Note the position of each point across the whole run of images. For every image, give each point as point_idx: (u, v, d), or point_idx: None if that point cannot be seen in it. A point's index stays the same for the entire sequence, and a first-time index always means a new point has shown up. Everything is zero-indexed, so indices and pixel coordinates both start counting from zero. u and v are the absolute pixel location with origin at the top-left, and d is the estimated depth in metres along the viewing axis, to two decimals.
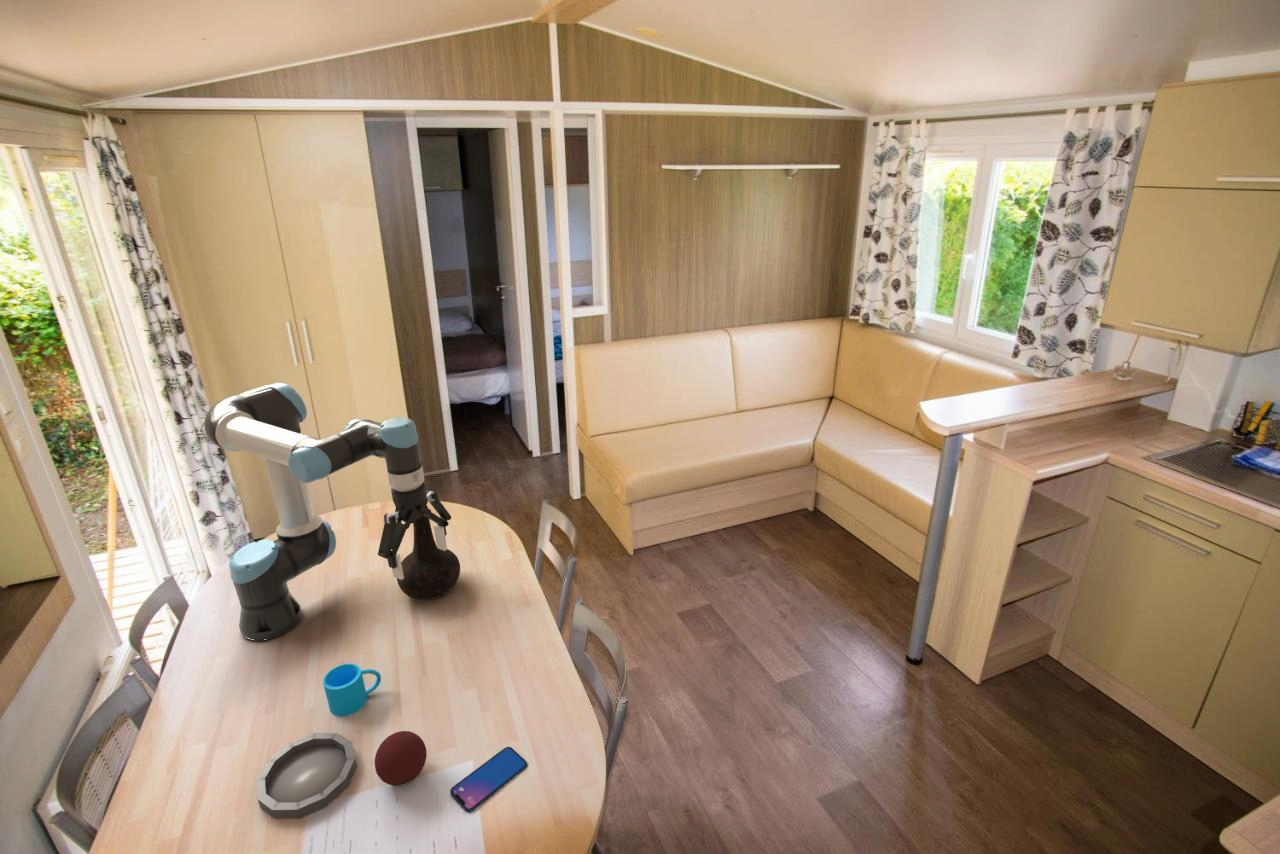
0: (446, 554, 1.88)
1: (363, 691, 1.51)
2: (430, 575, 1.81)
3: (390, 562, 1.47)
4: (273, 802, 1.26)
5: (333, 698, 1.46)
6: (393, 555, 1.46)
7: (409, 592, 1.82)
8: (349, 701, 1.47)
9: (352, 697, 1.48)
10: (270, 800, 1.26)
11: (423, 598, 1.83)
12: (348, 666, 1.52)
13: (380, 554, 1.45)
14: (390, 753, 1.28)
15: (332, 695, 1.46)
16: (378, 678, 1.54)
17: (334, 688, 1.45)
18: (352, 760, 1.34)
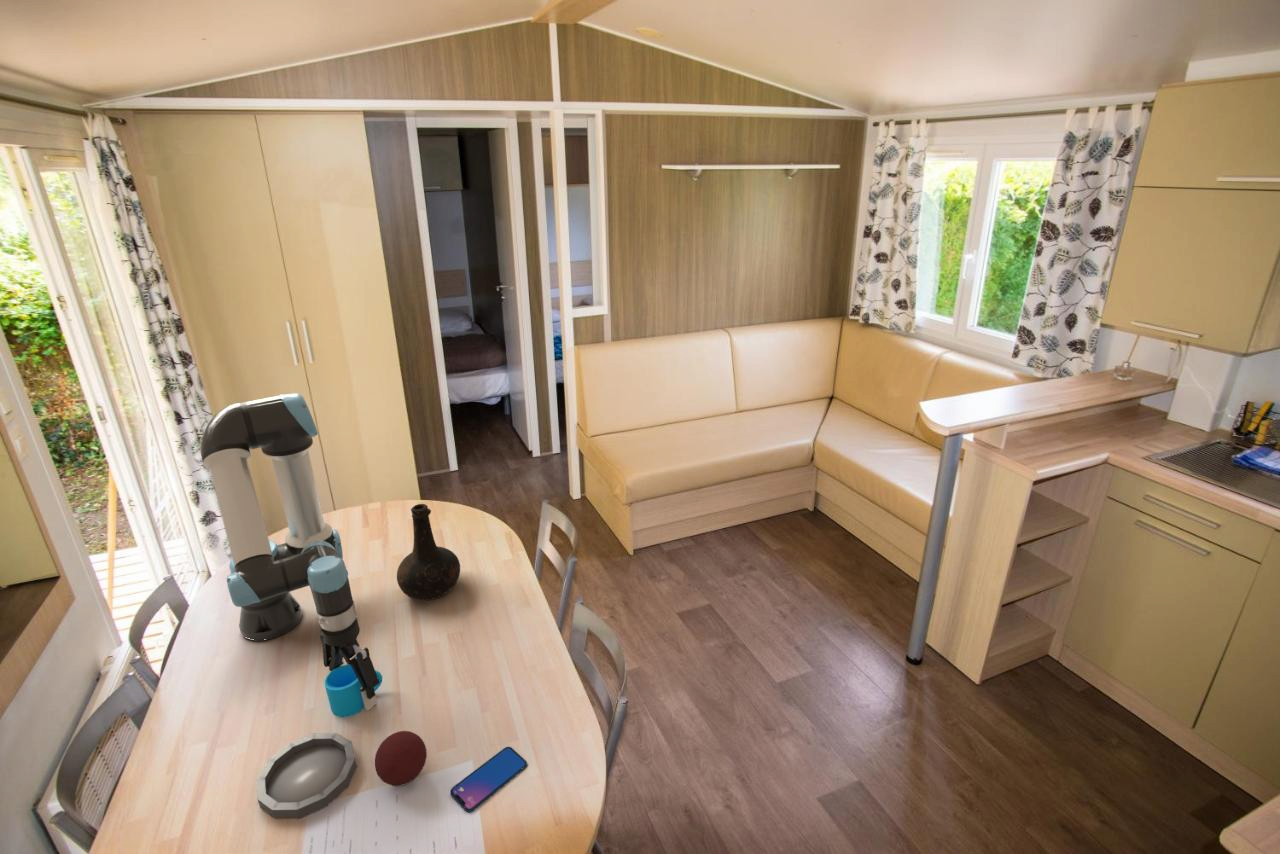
0: (446, 554, 1.88)
1: None
2: (430, 576, 1.81)
3: None
4: (273, 802, 1.26)
5: (335, 699, 1.46)
6: (330, 670, 1.52)
7: (409, 592, 1.82)
8: (351, 702, 1.47)
9: (354, 698, 1.47)
10: (270, 800, 1.26)
11: (423, 598, 1.83)
12: (349, 667, 1.52)
13: None
14: (390, 753, 1.28)
15: (334, 696, 1.46)
16: (379, 678, 1.53)
17: (336, 689, 1.45)
18: (352, 760, 1.34)
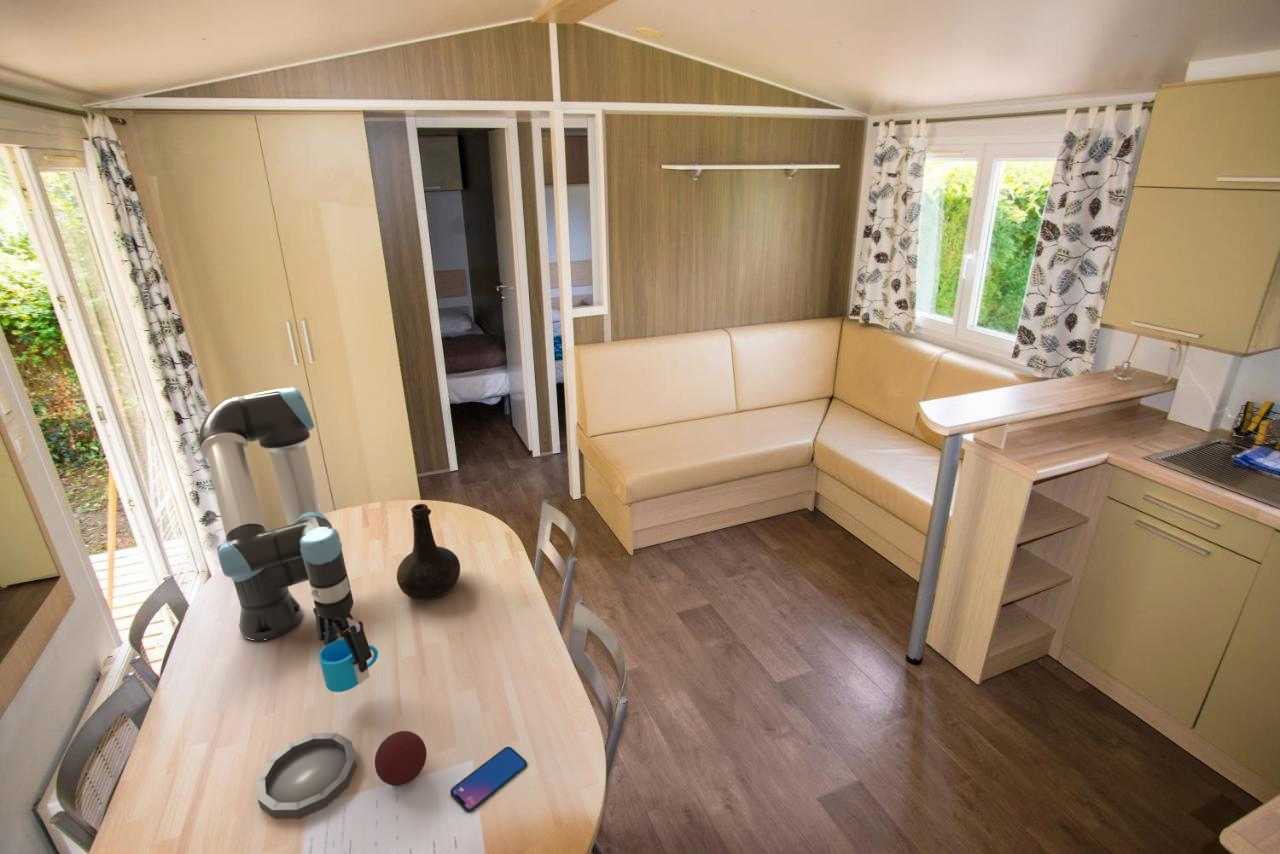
0: (446, 554, 1.88)
1: None
2: (430, 576, 1.81)
3: None
4: (273, 802, 1.26)
5: (329, 673, 1.43)
6: (324, 644, 1.49)
7: (409, 592, 1.82)
8: (346, 676, 1.45)
9: (349, 672, 1.45)
10: (270, 800, 1.26)
11: (423, 598, 1.83)
12: (344, 641, 1.49)
13: None
14: (390, 753, 1.28)
15: (328, 670, 1.43)
16: (375, 654, 1.51)
17: (330, 663, 1.43)
18: (352, 760, 1.34)
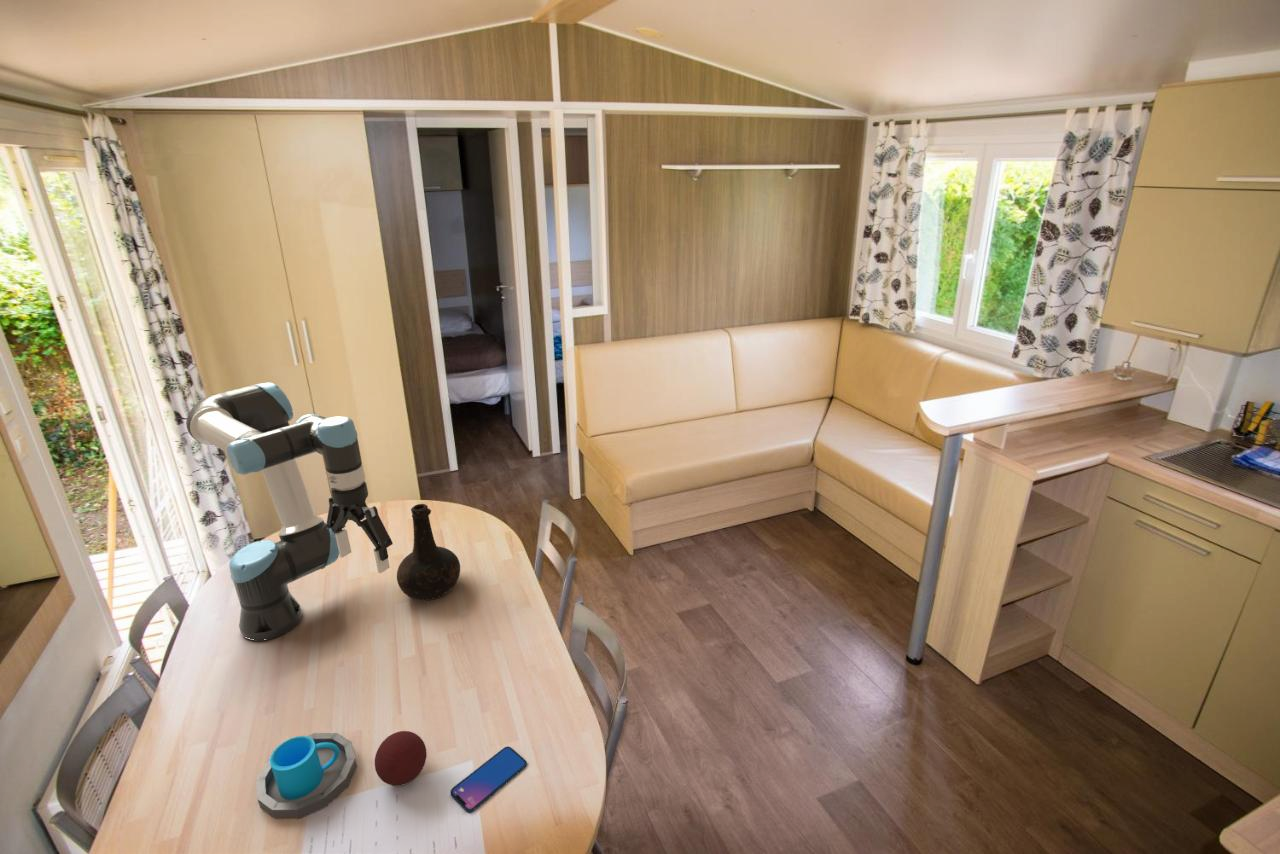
0: (446, 554, 1.88)
1: (318, 769, 1.31)
2: (430, 576, 1.81)
3: None
4: (273, 802, 1.26)
5: (281, 780, 1.26)
6: (332, 530, 1.55)
7: (409, 592, 1.82)
8: (300, 782, 1.27)
9: (304, 777, 1.28)
10: (270, 800, 1.26)
11: (423, 598, 1.83)
12: (300, 739, 1.32)
13: None
14: (390, 753, 1.28)
15: (280, 777, 1.26)
16: (336, 752, 1.34)
17: (282, 769, 1.25)
18: (352, 760, 1.34)
